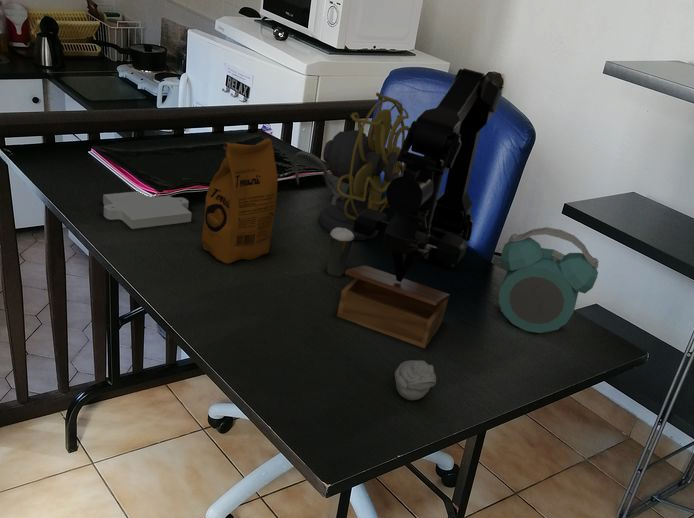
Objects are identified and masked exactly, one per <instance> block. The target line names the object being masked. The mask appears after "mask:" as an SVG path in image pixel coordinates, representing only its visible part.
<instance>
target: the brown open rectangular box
mask: <svg viewBox="0 0 694 518" xmlns="http://www.w3.org/2000/svg"><path fill="white" fill-rule="evenodd" d="M448 302H449V299H447V300H445V301H443V302H442V303H440V304H438V305H437V306H434V305H432V304H429V303H426V302H423V301H420V300H417V299H414V298H412V297H409V296H406V295H403V294H400V293H397V292H394V291H392V290H389V289H386V288H383V287H380V286H377V285H374V284H372V283H369V282H366V281H363V280H360V279H357V278H355V277H353V279H352V280H351V281H350V282H349V283H348V284H347V285H346V286H345V287H344V288H342V290H341V294H340V299H339V303H338V308H337V313H336V317H337V318H341V319H343V320H345V321H348V322H351V323H354V324H357V325H359V326H362V327H365V328H368V329H371V330H373V331H376V332H377V333H378V332H379V333H381V334H384V335H387V336H389V337H393V338H395V339H397V340H400V341H403V342H406V343H409V344H412V345H414V346H416V347H419V348H422V349H426V347H427V346H428V344H429V343H430V341H431V340H432V339H433V337H434V335H435V334H436V333H437V332H438V330H439V329H440V327H441V325H442V324H443V321H444V316H445V313H446V309H447V306H448V304H449V303H448Z"/></svg>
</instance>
